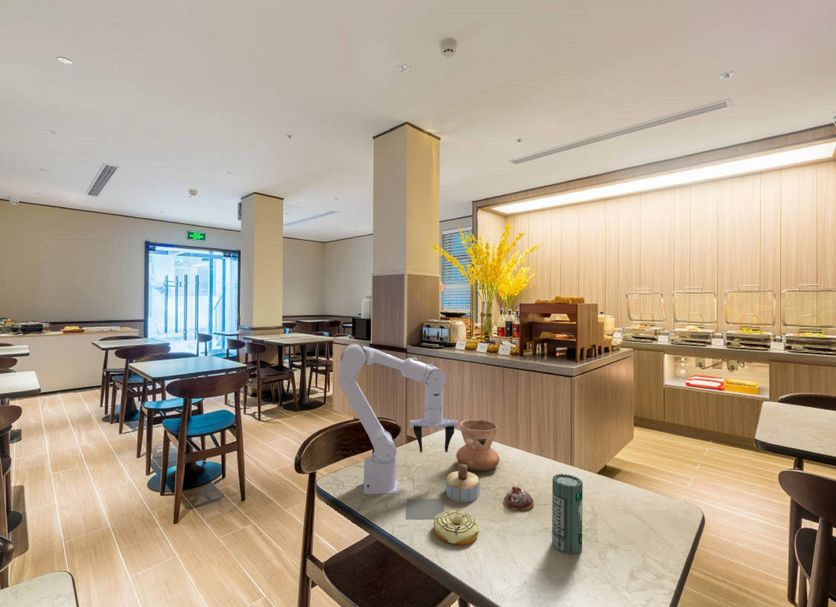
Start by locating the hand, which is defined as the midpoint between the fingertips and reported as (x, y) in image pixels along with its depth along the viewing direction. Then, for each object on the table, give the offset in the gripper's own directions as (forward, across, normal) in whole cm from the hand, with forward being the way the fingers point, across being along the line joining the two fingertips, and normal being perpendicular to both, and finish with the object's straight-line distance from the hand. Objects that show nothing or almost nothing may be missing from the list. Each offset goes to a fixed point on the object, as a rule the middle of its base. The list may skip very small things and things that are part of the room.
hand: (433, 450), depth 117 cm
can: (+10, +29, -30) cm, 43 cm away
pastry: (+10, +23, -12) cm, 28 cm away
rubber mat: (+10, -3, -15) cm, 18 cm away
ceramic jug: (+10, +16, +13) cm, 23 cm away
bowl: (+10, +8, -7) cm, 15 cm away
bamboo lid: (+6, +8, -7) cm, 12 cm away
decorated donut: (+10, +4, -26) cm, 28 cm away
